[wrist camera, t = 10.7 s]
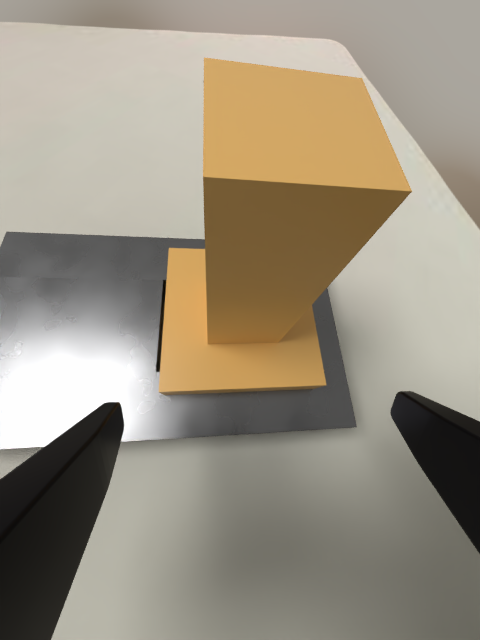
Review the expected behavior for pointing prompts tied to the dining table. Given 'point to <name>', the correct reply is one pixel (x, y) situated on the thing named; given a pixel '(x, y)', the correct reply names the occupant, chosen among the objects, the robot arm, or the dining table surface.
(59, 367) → the grey metal plate
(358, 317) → the dining table surface
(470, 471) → the robot arm
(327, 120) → the orange post
